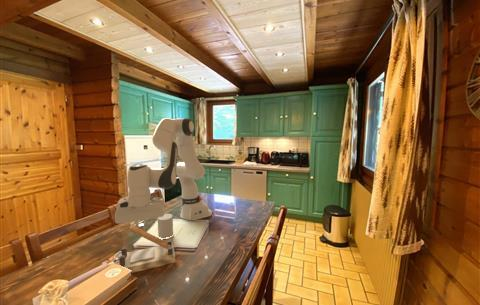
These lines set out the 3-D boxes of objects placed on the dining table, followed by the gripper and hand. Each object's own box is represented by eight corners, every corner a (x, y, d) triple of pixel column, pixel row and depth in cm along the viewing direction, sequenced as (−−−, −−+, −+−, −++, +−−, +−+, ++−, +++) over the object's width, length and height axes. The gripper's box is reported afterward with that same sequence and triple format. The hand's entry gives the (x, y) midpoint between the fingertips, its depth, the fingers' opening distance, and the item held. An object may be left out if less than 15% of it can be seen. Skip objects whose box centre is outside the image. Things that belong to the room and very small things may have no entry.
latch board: (173, 248, 104) (172, 235, 103) (175, 262, 93) (175, 248, 92) (120, 259, 95) (120, 246, 94) (116, 276, 84) (115, 261, 83)
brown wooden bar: (169, 247, 99) (171, 244, 99) (170, 251, 96) (172, 248, 96) (130, 227, 91) (133, 224, 91) (129, 231, 87) (132, 228, 88)
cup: (176, 234, 118) (175, 215, 117) (166, 241, 110) (166, 220, 109) (164, 231, 121) (164, 213, 119) (155, 238, 113) (154, 218, 112)
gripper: (164, 194, 96) (165, 221, 98) (115, 200, 88) (117, 229, 90) (164, 198, 91) (165, 227, 92) (112, 205, 83) (114, 236, 84)
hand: (141, 228), depth 91 cm, fingers closed
